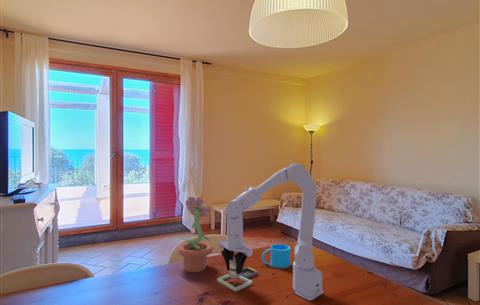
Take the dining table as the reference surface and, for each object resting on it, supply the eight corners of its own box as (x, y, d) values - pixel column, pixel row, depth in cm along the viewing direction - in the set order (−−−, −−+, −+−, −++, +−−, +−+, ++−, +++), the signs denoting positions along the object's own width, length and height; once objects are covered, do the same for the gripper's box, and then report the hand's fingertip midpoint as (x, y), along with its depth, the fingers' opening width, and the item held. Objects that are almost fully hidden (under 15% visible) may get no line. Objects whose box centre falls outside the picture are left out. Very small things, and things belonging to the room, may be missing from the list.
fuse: (242, 275, 101) (242, 259, 101) (235, 279, 97) (235, 263, 97) (233, 272, 103) (234, 257, 103) (226, 275, 100) (227, 260, 100)
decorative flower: (221, 267, 116) (221, 195, 115) (201, 281, 103) (202, 200, 103) (192, 260, 122) (192, 192, 122) (170, 272, 110) (171, 197, 110)
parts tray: (252, 286, 99) (252, 281, 99) (235, 294, 94) (235, 288, 94) (233, 277, 106) (233, 272, 106) (217, 283, 101) (217, 278, 101)
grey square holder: (257, 277, 107) (257, 271, 107) (246, 282, 103) (246, 275, 103) (247, 272, 111) (247, 266, 111) (235, 276, 107) (235, 270, 107)
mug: (288, 262, 121) (288, 243, 121) (292, 270, 113) (292, 250, 113) (260, 262, 121) (260, 244, 121) (262, 270, 113) (263, 250, 113)
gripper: (257, 235, 99) (257, 273, 99) (227, 227, 108) (227, 262, 108) (245, 239, 93) (245, 280, 93) (214, 231, 102) (214, 268, 102)
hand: (234, 271), depth 100 cm, fingers closed on fuse, 4 cm apart
